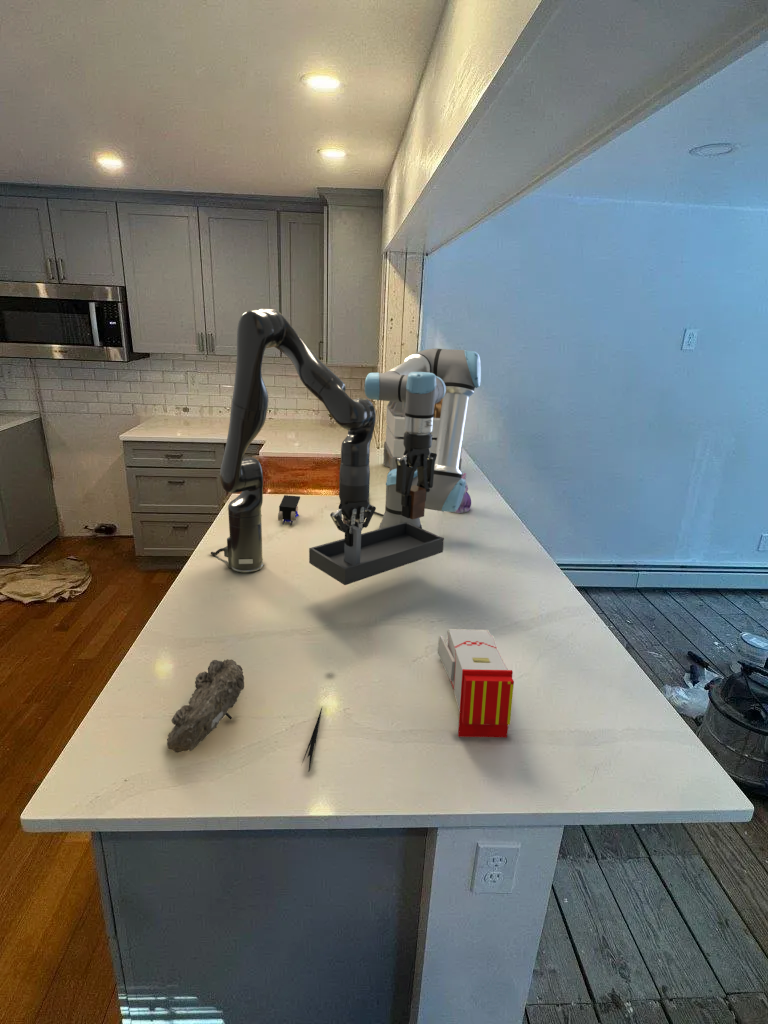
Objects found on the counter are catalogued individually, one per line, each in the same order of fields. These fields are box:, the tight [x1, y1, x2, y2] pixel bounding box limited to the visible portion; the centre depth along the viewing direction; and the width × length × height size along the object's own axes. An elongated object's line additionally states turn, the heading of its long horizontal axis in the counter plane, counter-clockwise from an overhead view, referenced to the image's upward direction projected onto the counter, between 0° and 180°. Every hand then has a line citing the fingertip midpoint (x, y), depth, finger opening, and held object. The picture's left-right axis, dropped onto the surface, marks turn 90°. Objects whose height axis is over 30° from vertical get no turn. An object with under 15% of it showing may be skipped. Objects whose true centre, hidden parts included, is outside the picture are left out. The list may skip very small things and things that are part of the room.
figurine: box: [454, 472, 472, 514], centre depth 224 cm, size 9×10×15 cm
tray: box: [308, 522, 445, 586], centre depth 152 cm, size 16×34×11 cm, turn 131°
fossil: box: [166, 658, 245, 754], centre depth 106 cm, size 22×10×15 cm
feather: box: [301, 673, 332, 771], centre depth 108 cm, size 2×28×2 cm
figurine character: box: [277, 494, 301, 526], centre depth 207 cm, size 7×8×15 cm
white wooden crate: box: [383, 398, 464, 472], centre depth 268 cm, size 34×33×41 cm
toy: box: [437, 628, 515, 738], centre depth 117 cm, size 12×13×30 cm
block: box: [409, 485, 426, 519], centre depth 157 cm, size 4×4×8 cm
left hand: (352, 544), depth 146 cm, fingers closed on tray, 1 cm apart
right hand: (412, 514), depth 158 cm, fingers closed on block, 4 cm apart
